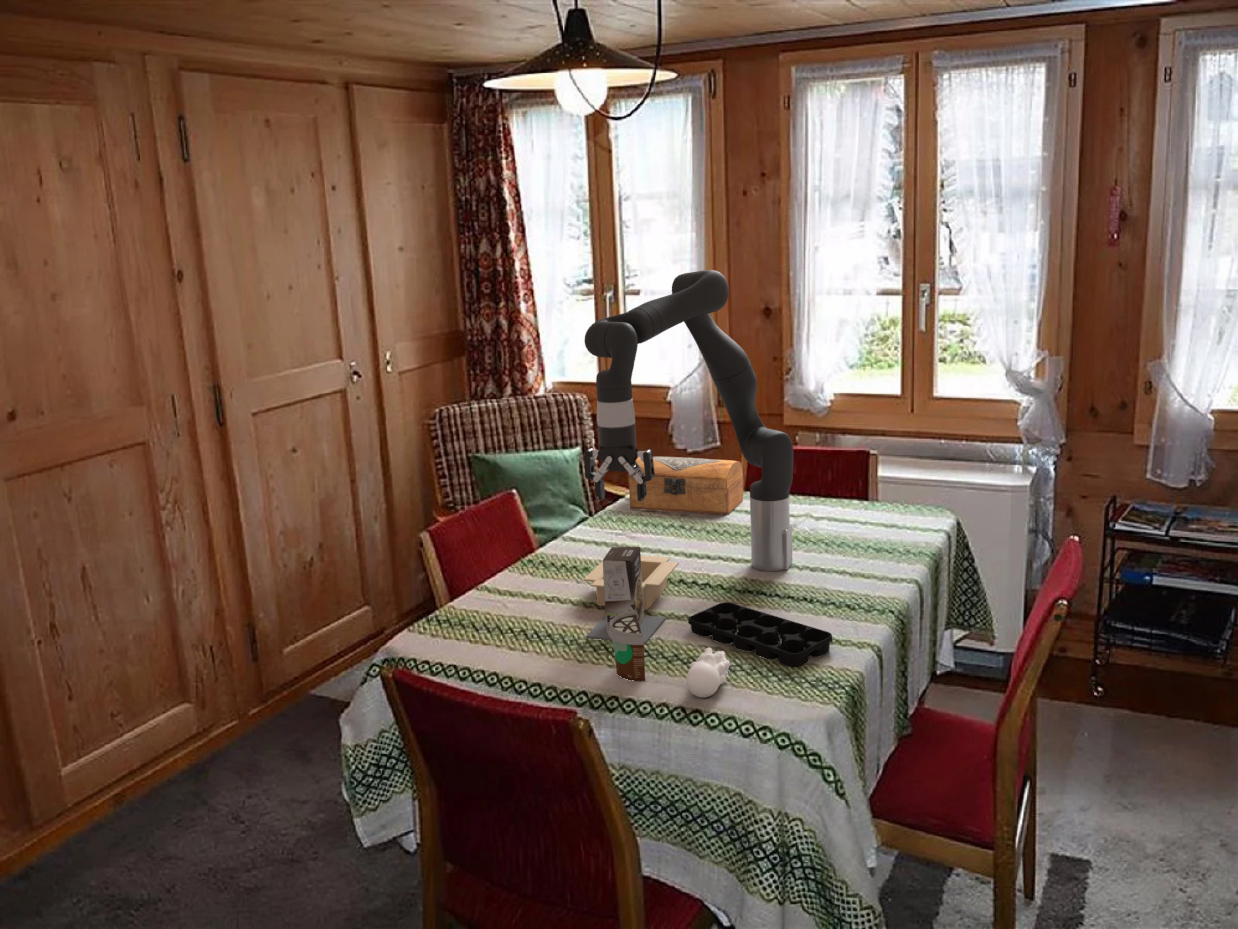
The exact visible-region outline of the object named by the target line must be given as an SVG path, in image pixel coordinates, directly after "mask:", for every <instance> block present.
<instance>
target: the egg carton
mask: <svg viewBox="0 0 1238 929" xmlns="http://www.w3.org/2000/svg"><path fill="white" fill-rule="evenodd" d="M687 620H688V621H687V624H688V625H690V630H691V633H693V634H694V635H696V636H699V637H704V638H707V637H712V638H711V639H712V641H714V642H716V643H719V644H723V645H731V644H732V646H733V647H734V649H737V650H740V651H743V650H744V651H743V652H748V651H752V652H754V650H755V655H756V656H757V657H759V656H761V657H760V658H762V657H764V658H763V659H765V658H766V660H769V659H774V660H778V663H779V662H780V663H779V664H780V665H781V666H785V665H786V667H788V668H794V669H797V668H800V667H801V668H802V667H804V664H805V665H806V664H808V663H809V661H810V657H812V658H819V656H820V657H822V656H824V655H826V654H828V653H829V651H830V646H831V645H830V644H831V643H832V642H833V641H834V640H833V634H832V632H829V631H827V630H823V629H820V628H816V627H813V626H810V625H806V624H803V623H799V622H798V621H797V622H795V621H793V620H790V619H786V618H783V617H779V616H776V615H772V614H770V613H767V612H763V611H759V610H756V609H754V608H749V607H746V606H743V605H740V604H736V603H733V602H730V601H729V602H728V601H724V602H719V603H717V604H715V605H713V606H710V607H709V608H706V609H705V610H701V611H699V612H698V613H695V614H693V615H689V617H688V619H687ZM780 638H781V639H780ZM780 641H781V643H779V642H780ZM776 658H777V659H776Z"/></svg>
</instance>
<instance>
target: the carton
mask: <svg viewBox="0 0 1238 929" xmlns="http://www.w3.org/2000/svg"><path fill="white" fill-rule="evenodd" d="M670 559H671V557H669V556H655V555H654V556H653V555H641V574H642V593H643V610H646V611H647V610H648V609H649V608H650V607H651V606H652V605H653V604H654V602H655V601H657V599H658V598H659V597H660V595H661V594H662V593H663V592H664V591H665V590H666V589H667V587H668V577H669V576H670V575H671V574H672V573H673V571H674V570H676V568H677V567H678V566H679V562H676V561H675V562H674V561H670ZM583 581H584V582H592V583H591V584H590V587H592V588H596V599H597V604H596V605H597V606H598V605H600V607H605V595H604V577H603V560H601V562H600V563H599V564H598V565H597V566H595V568H593V569H592V570H591V571H590V572H589V573H588V574H587V575H586V576H585V577H584V578H583ZM664 589H665V590H664ZM601 605H602V606H601Z"/></svg>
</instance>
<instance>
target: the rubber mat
mask: <svg viewBox="0 0 1238 929" xmlns="http://www.w3.org/2000/svg"><path fill="white" fill-rule="evenodd" d="M665 621H666V617H665V616H655V615H654V616H652V615H644V619H643V621H642V623H641V624H640V629H641V633H643V637H644V645H647V643H648V642H650V641H651V639H652V638H653V637H654V635H655V633H656V632H657V631H658V630H659V629H660V628H661V626H662V625H663V624H664V623H665ZM586 638H591V639H590V640H596V639H601V640H600V641H606V640H610V641H609V642H613V641H612V639H611V638H610V637H609V635H608V633H607V632H606V614H605V615H604V616H603V617H602V618H601V619H600V621H599V622H598V623H597V624H596V625H595V626H594V627H593V628H592V629H591V630H590V631H589V632H588V633H587V634H586V636H585V639H586ZM650 638H651V639H650Z"/></svg>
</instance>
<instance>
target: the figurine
mask: <svg viewBox="0 0 1238 929" xmlns="http://www.w3.org/2000/svg"><path fill="white" fill-rule="evenodd" d="M730 664H731V662H730V661H729V660H728V659H727V658H726V653H725V651H724V650H721V651H718V650H717V651H715V652H714V653H713V649H712V648H711V647H707V648H705V649H704V652H701V654H700V655H699V657H698V658H696V661H692V662H691V664H690V666H689V670H688V672H687V674H686V678H685V682H686V686H687V689H688V690H689V691H690V692H691V693H692V694H693V695H694V696H695V697H698V698H703V699H704V698H707V697H710V696H712V695H714V694H715V693H716V692H717V691H718V689H719V686H720V685H722V684H724V683H725V682H726V680H727V676H728V675H729V671H728V670H729V669H730V667H731V666H730Z"/></svg>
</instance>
